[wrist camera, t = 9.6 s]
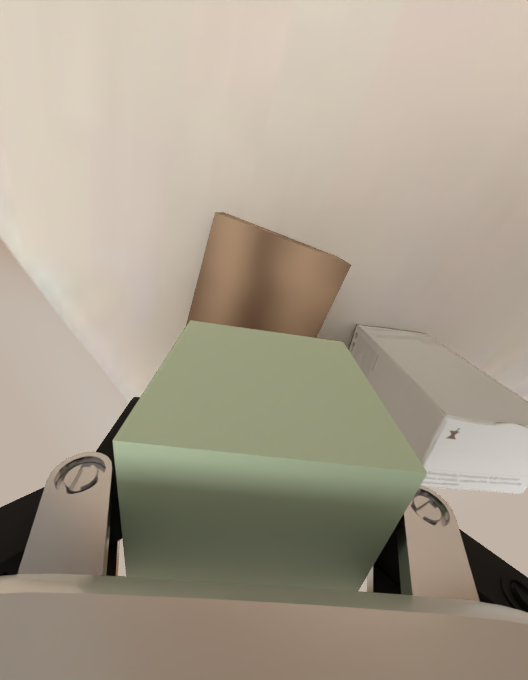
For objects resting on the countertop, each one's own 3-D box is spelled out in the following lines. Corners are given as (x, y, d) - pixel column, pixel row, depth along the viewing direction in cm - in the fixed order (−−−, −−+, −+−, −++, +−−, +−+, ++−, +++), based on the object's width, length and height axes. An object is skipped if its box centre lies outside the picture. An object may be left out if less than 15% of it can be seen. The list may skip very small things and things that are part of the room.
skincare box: (340, 369, 31) (402, 490, 17) (356, 319, 28) (442, 417, 15) (411, 378, 31) (523, 502, 18) (432, 330, 29) (581, 434, 15)
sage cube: (343, 341, 11) (427, 473, 5) (309, 451, 13) (343, 616, 8) (190, 320, 10) (112, 440, 5) (184, 438, 13) (129, 604, 7)
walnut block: (335, 255, 26) (351, 264, 21) (291, 352, 30) (296, 377, 26) (223, 212, 24) (215, 212, 20) (194, 321, 29) (181, 341, 24)
